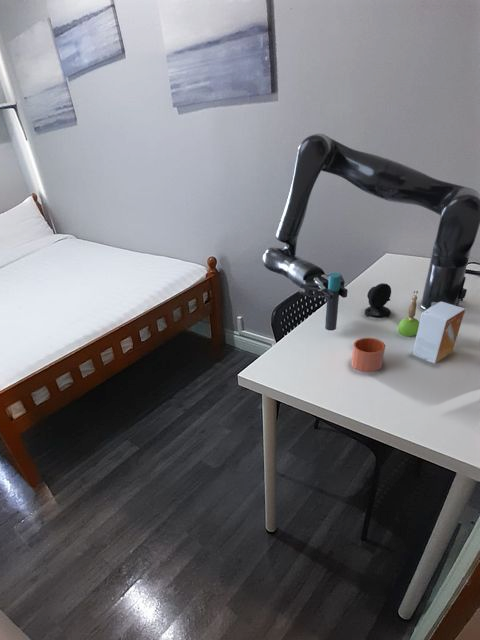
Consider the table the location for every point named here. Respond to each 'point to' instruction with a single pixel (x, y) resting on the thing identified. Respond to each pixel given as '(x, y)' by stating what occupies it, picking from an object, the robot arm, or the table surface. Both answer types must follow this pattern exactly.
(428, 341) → the small box
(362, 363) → the pen cup
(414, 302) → the snail figurine
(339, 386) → the table surface
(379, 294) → the webcam
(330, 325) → the marker pen
